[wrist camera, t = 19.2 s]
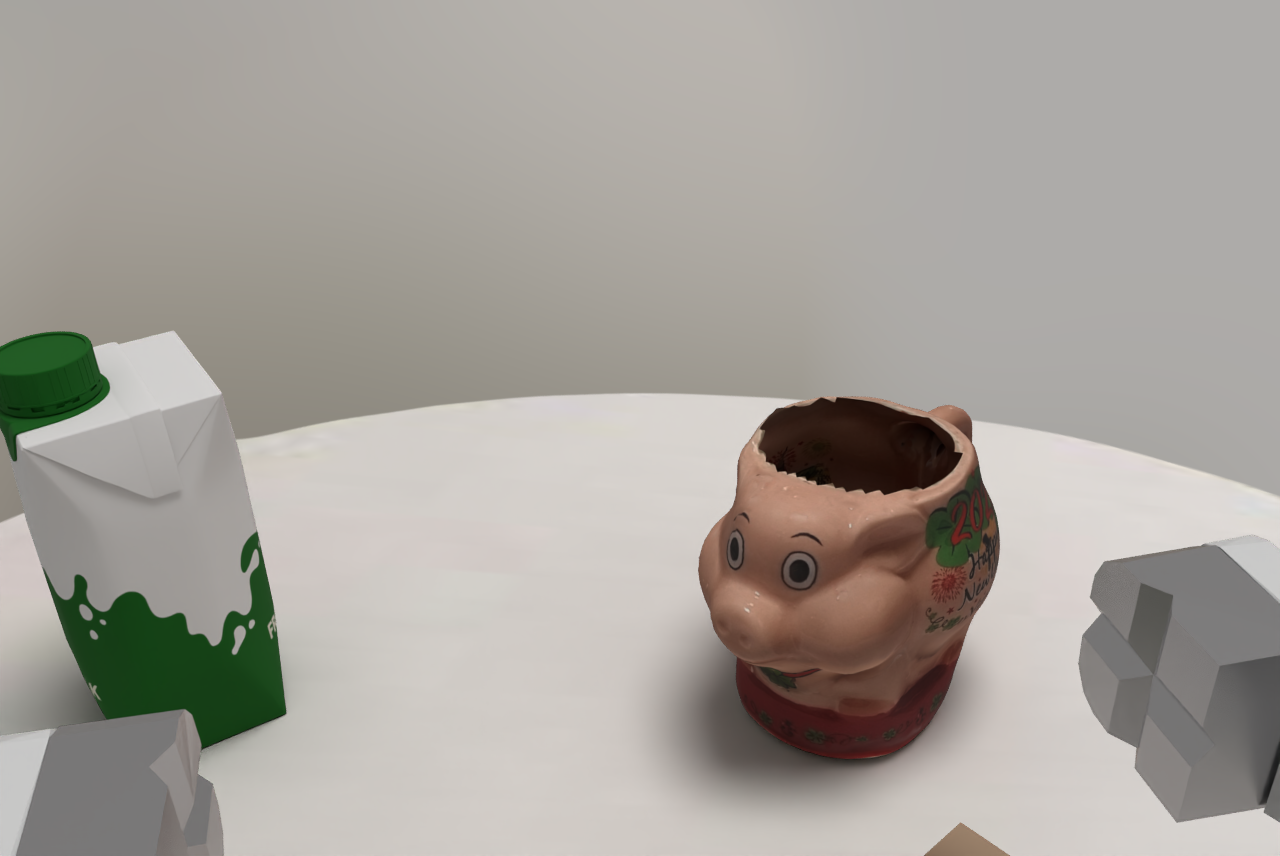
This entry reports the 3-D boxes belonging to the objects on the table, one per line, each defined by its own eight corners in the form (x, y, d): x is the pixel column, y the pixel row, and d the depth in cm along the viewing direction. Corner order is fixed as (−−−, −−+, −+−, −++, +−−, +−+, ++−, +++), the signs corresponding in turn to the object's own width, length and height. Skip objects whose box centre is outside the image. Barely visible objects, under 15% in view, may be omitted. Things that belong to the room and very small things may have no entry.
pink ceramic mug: (832, 537, 71) (846, 320, 64) (1040, 608, 65) (1080, 376, 58) (638, 748, 57) (629, 498, 50) (880, 863, 51) (908, 598, 44)
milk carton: (80, 688, 62) (-41, 329, 52) (257, 622, 66) (176, 278, 56) (122, 797, 55) (-8, 412, 45) (314, 716, 59) (234, 347, 49)
